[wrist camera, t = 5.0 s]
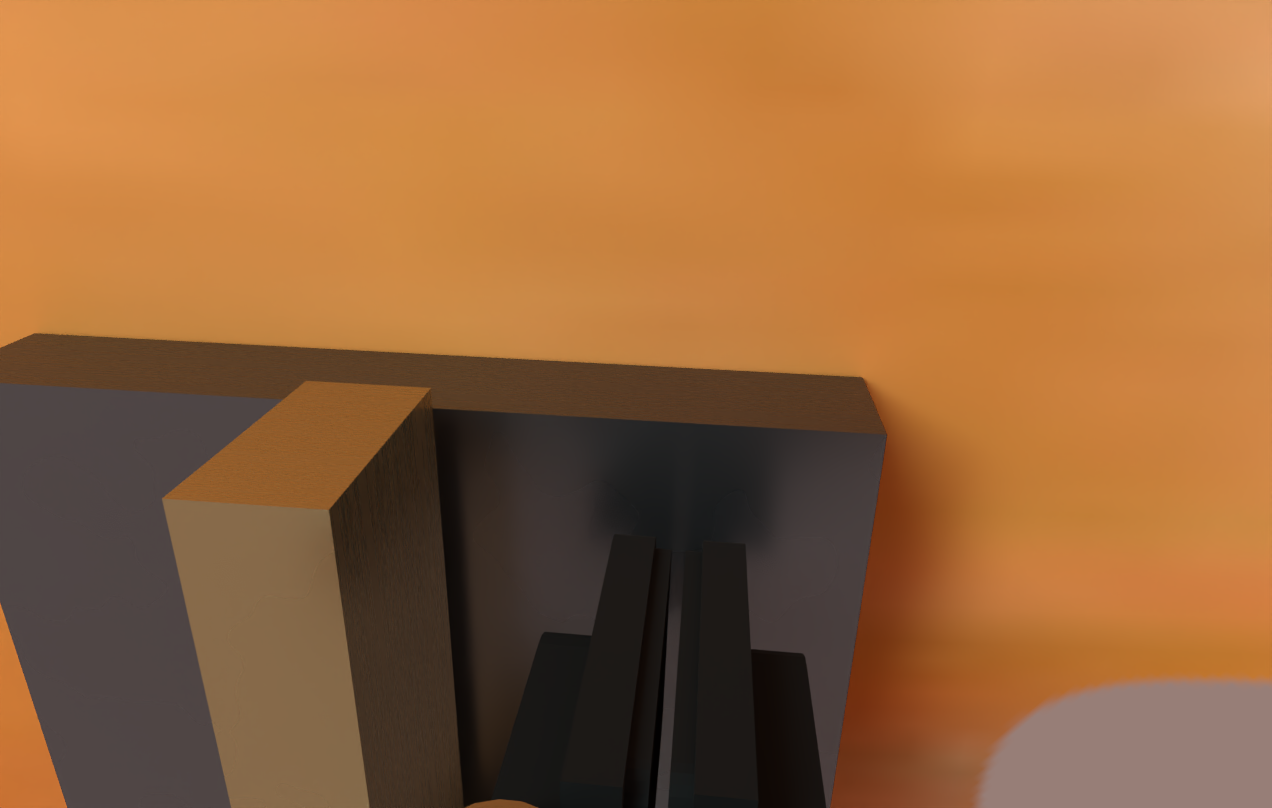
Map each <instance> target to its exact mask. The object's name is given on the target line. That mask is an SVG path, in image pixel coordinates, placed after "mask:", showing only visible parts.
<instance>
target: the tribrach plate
mask: <svg viewBox="0 0 1272 808" xmlns="http://www.w3.org/2000/svg"><path fill="white" fill-rule="evenodd" d="M305 381H317V382H335V383H353V384H371V385H388V386H406V387H424V388H431V394H432V406H433V419H434V432H435V445H436V458H437V471H438V484H439V497H440V509H441V522H442V535H443V548H444V561H445V574H446V587H447V600H448V612H449V625H450V638H451V651H452V664H453V677H454V690H455V703H456V715H457V728H458V741H459V754H460V767H461V780H462V793H463V806H464V808H465V807H467V806H470V805H472V804H474V803H479V802H485V801H491V798H492V795H493V792H494V789H495V785H496V782H497V779H498V775H499V772H500V769H501V765H502V762H503V759H504V756H505V752H506V749H507V746H508V742H509V739H510V736H511V733H512V729H513V726H514V723H515V719H516V716H517V713H518V709H519V706H520V703H521V700H522V696H523V693H524V690H525V686H526V683H527V680H528V676H529V673H530V670H531V667H532V663H533V660H534V657H535V653H536V650H537V647H538V643H539V641H540V638H541V636H542V634H543V633H544V632H555V633H567V634H579V635H591V636H592V632H593V627H594V623H595V618H596V613H597V609H598V604H599V600H600V595H601V590H602V586H603V581H604V577H605V572H606V567H607V563H608V558H609V554H610V549H611V544H612V540H613V536H614V534H625V535H638V536H652V537H656V548H660V549H672V560H671V578H670V596H669V614H668V632H667V650H666V668H665V686H664V704H663V721H662V735H661V747H660V759H659V771H658V782H657V794H656V806H655V808H668V798H669V783H670V768H671V754H672V739H673V725H674V710H675V696H676V681H677V667H678V652H679V638H680V623H681V609H682V594H683V580H684V565H685V551H700V552H702V544H703V540H705V541H718V542H731V543H744V544H745V545H746V562H747V582H748V602H749V622H750V642H751V649H757V650H769V651H781V652H793V653H803V654H804V656H805V659H806V664H807V671H808V678H809V685H810V692H811V700H812V707H813V714H814V721H815V729H816V736H817V743H818V750H819V758H820V765H821V772H822V779H823V786H824V794H825V801H826V808H830V804H831V798H832V791H833V785H834V778H835V772H836V765H837V759H838V752H839V745H840V739H841V732H842V726H843V719H844V713H845V706H846V700H847V693H848V687H849V680H850V673H851V667H852V660H853V654H854V647H855V641H856V634H857V628H858V621H859V615H860V608H861V601H862V595H863V588H864V582H865V575H866V569H867V562H868V556H869V549H870V543H871V536H872V529H873V523H874V516H875V510H876V503H877V497H878V490H879V484H880V477H881V471H882V464H883V457H884V451H885V444H886V438H887V434H886V431H885V429H884V426H883V424H882V422H881V419H880V417H879V415H878V412H877V410H876V408H875V405H874V403H873V400H872V398H871V396H870V393H869V391H868V389H867V386H866V384H865V382H864V379H863V378H862V377H843V376H824V375H805V374H787V373H768V372H749V371H730V370H711V369H693V368H674V367H655V366H636V365H618V364H599V363H580V362H561V361H542V360H524V359H505V358H486V357H467V356H449V355H430V354H411V353H392V352H374V351H355V350H336V349H317V348H298V347H280V346H261V345H242V344H223V343H205V342H186V341H167V340H148V339H129V338H111V337H92V336H73V335H54V334H36V333H34V334H32V335H30V336H27V337H25V338H23V339H20V340H18V341H15V342H13V343H11V344H8V345H6V346H4V347H1V348H0V603H1V606H2V609H3V612H4V615H5V618H6V621H7V624H8V627H9V630H10V633H11V636H12V639H13V642H14V646H15V649H16V652H17V655H18V658H19V661H20V664H21V667H22V670H23V673H24V676H25V679H26V682H27V685H28V688H29V691H30V694H31V698H32V701H33V704H34V707H35V710H36V713H37V716H38V719H39V722H40V725H41V728H42V731H43V734H44V737H45V740H46V743H47V747H48V750H49V753H50V756H51V759H52V762H53V765H54V768H55V771H56V774H57V777H58V780H59V783H60V786H61V789H62V792H63V795H64V799H65V802H66V805H67V808H231V805H230V800H229V796H228V791H227V787H226V782H225V778H224V773H223V769H222V765H221V760H220V756H219V751H218V747H217V742H216V738H215V733H214V729H213V724H212V720H211V715H210V711H209V706H208V702H207V698H206V693H205V689H204V684H203V680H202V675H201V671H200V666H199V662H198V657H197V653H196V648H195V644H194V639H193V635H192V631H191V626H190V622H189V617H188V613H187V608H186V604H185V599H184V595H183V590H182V586H181V581H180V577H179V572H178V568H177V564H176V559H175V555H174V550H173V546H172V541H171V537H170V532H169V528H168V523H167V519H166V514H165V510H164V505H163V501H162V498H163V497H165V496H166V495H167V494H168V493H169V492H171V491H172V490H173V489H174V488H176V487H177V486H178V485H179V484H180V483H182V482H183V481H184V480H185V479H187V478H188V477H189V476H190V475H191V474H193V473H194V472H195V471H196V470H198V469H199V468H200V467H201V466H202V465H204V464H205V463H206V462H207V461H209V460H210V459H211V458H212V457H213V456H215V455H216V454H217V453H218V452H220V451H221V450H222V449H223V448H225V447H226V446H227V445H228V444H229V443H231V442H232V441H233V440H234V439H236V438H237V437H238V436H239V435H240V434H242V433H243V432H244V431H245V430H247V429H248V428H249V427H250V426H251V425H253V424H254V423H255V422H256V421H258V420H259V419H260V418H261V417H262V416H264V415H265V414H266V413H267V412H269V411H270V410H271V409H272V408H273V407H275V406H276V405H277V404H278V403H280V402H281V401H282V400H283V399H285V398H286V397H287V396H288V395H289V394H291V393H292V392H293V391H294V390H296V389H297V388H298V387H299V386H300V385H302V384H303V383H304V382H305Z"/></svg>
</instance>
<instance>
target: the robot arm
mask: <svg viewBox="0 0 1272 808" xmlns="http://www.w3.org/2000/svg"><path fill="white" fill-rule="evenodd" d="M671 560H672V549H660V548H656V537H652V536H638V535H625V534H614V536H613V540H612V544H611V549H610V554H609V558H608V563H607V567H606V572H605V577H604V581H603V586H602V590H601V595H600V600H599V604H598V609H597V613H596V618H595V623H594V627H593V632H592V636H591V635H579V634H567V633H555V632H544V633H543V634H542V636H541V638H540V641H539V643H538V647H537V650H536V653H535V657H534V660H533V663H532V667H531V670H530V673H529V676H528V680H527V683H526V686H525V690H524V693H523V696H522V700H521V703H520V706H519V709H518V713H517V716H516V719H515V723H514V726H513V729H512V733H511V736H510V739H509V742H508V746H507V749H506V752H505V756H504V759H503V762H502V765H501V769H500V772H499V775H498V779H497V782H496V785H495V789H494V792H493V795H492V798H491V801H485V802H479V803H474V804H472V805H470V806H467V807H465V808H655V806H656V794H657V782H658V771H659V759H660V747H661V735H662V721H663V704H664V686H665V668H666V650H667V632H668V614H669V596H670V578H671ZM668 808H826V801H825V794H824V786H823V779H822V772H821V765H820V758H819V750H818V743H817V736H816V729H815V721H814V714H813V707H812V700H811V692H810V685H809V678H808V671H807V664H806V659H805V656H804V654H803V653H793V652H781V651H769V650H757V649H751V642H750V622H749V602H748V582H747V562H746V545H745V544H744V543H731V542H718V541H705V540H703V544H702V552H700V551H685V565H684V580H683V594H682V609H681V623H680V638H679V652H678V667H677V681H676V696H675V710H674V725H673V739H672V754H671V768H670V783H669V798H668Z"/></svg>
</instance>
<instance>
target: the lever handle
mask: <svg viewBox="0 0 1272 808" xmlns="http://www.w3.org/2000/svg"><path fill="white" fill-rule="evenodd" d="M162 501H163V505H164V510H165V514H166V519H167V523H168V528H169V532H170V537H171V541H172V546H173V550H174V555H175V559H176V564H177V568H178V572H179V577H180V581H181V586H182V590H183V595H184V599H185V604H186V608H187V613H188V617H189V622H190V626H191V631H192V635H193V639H194V644H195V648H196V653H197V657H198V662H199V666H200V671H201V675H202V680H203V684H204V689H205V693H206V698H207V702H208V706H209V711H210V715H211V720H212V724H213V729H214V733H215V738H216V742H217V747H218V751H219V756H220V760H221V765H222V769H223V773H224V778H225V782H226V787H227V791H228V796H229V800H230V805H231V808H464V806H463V793H462V780H461V767H460V754H459V741H458V728H457V715H456V703H455V690H454V677H453V664H452V651H451V638H450V625H449V612H448V600H447V587H446V574H445V561H444V548H443V535H442V522H441V509H440V497H439V484H438V471H437V458H436V445H435V432H434V419H433V406H432V394H431V388H424V387H406V386H388V385H371V384H353V383H335V382H317V381H305V382H304V383H303V384H302V385H300V386H299V387H298V388H297V389H296V390H294V391H293V392H292V393H291V394H289V395H288V396H287V397H286V398H285V399H283V400H282V401H281V402H280V403H278V404H277V405H276V406H275V407H273V408H272V409H271V410H270V411H269V412H267V413H266V414H265V415H264V416H262V417H261V418H260V419H259V420H258V421H256V422H255V423H254V424H253V425H251V426H250V427H249V428H248V429H247V430H245V431H244V432H243V433H242V434H240V435H239V436H238V437H237V438H236V439H234V440H233V441H232V442H231V443H229V444H228V445H227V446H226V447H225V448H223V449H222V450H221V451H220V452H218V453H217V454H216V455H215V456H213V457H212V458H211V459H210V460H209V461H207V462H206V463H205V464H204V465H202V466H201V467H200V468H199V469H198V470H196V471H195V472H194V473H193V474H191V475H190V476H189V477H188V478H187V479H185V480H184V481H183V482H182V483H180V484H179V485H178V486H177V487H176V488H174V489H173V490H172V491H171V492H169V493H168V494H167V495H166V496H165V497H163V498H162Z"/></svg>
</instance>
